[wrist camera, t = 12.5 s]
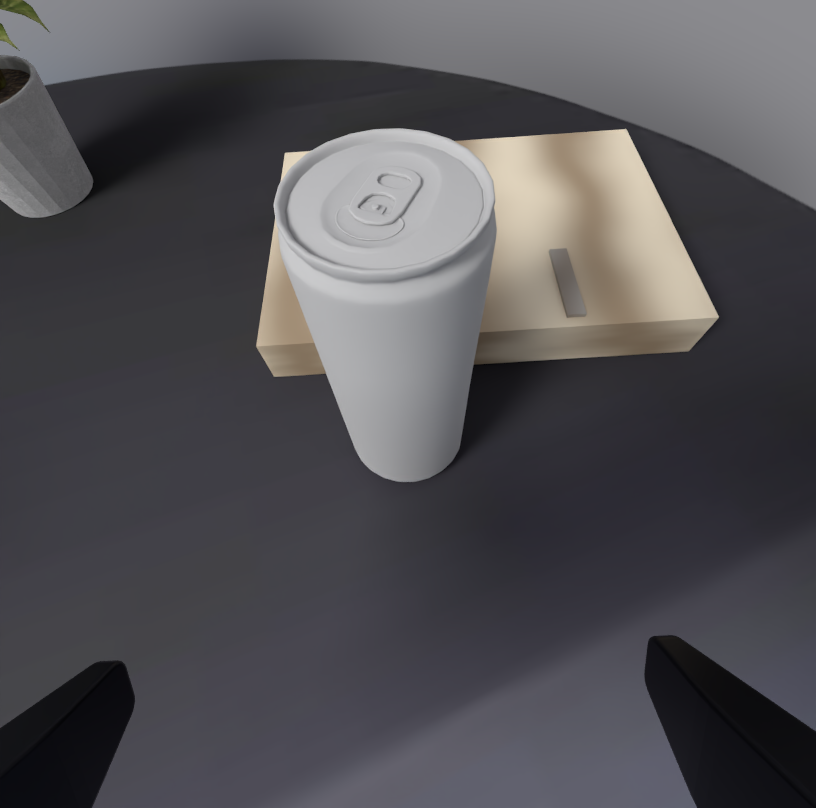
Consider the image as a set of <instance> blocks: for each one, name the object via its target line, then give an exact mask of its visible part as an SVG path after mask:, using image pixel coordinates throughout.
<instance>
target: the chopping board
mask: <svg viewBox="0 0 816 808" xmlns="http://www.w3.org/2000/svg"><path fill="white" fill-rule="evenodd" d="M454 142H456V143H458V144H460V145H462V146H464V147H466V148H467V149H469V150H470V151H471V152H472V153H473V154H474V155H475V156H476V157H478V158H479V159H480V160H481V161H482V162H483V163H484V165H485V167H486V168H487V170H488V172H489V174H490V176H491V178H492V179H493V183H494V192H495V205H494V210H495V217H496V227H497V235H496V242H495V248H494V254H493V260H492V266H491V272H490V277H489V283H488V289H487V294H486V300H485V306H484V311H483V316H482V322H481V327H480V332H479V337H478V343H477V348H476V354H475V359H474V364H473V365H475V364H491V363H507V362H524V361H540V360H556V359H572V358H589V357H605V356H621V355H637V354H654V353H670V352H686V351H689V350H690V349H691V348H692V347H693V346H694V345H695V344H696V343H697V341H698V340H699V339H700V338H701V337H702V336H703V335H704V334H705V333H706V331H707V330H708V329H709V328H710V327H711V326H712V325H713V324H714V323H715V321H716V320H717V319H718V318H719V316H718V314H717V312H716V310H715V308H714V306H713V304H712V302H711V300H710V298H709V296H708V294H707V292H706V290H705V288H704V286H703V284H702V282H701V280H700V278H699V276H698V274H697V272H696V270H695V268H694V265H693V263H692V261H691V259H690V257H689V255H688V253H687V251H686V249H685V247H684V245H683V243H682V241H681V239H680V237H679V235H678V233H677V231H676V229H675V227H674V225H673V223H672V221H671V219H670V217H669V215H668V213H667V211H666V209H665V207H664V205H663V203H662V201H661V199H660V197H659V195H658V192H657V190H656V188H655V186H654V184H653V182H652V180H651V178H650V176H649V174H648V172H647V170H646V168H645V166H644V164H643V162H642V160H641V158H640V156H639V154H638V152H637V150H636V148H635V146H634V144H633V142H632V140H631V138H630V136H629V134H628V132H627V130H626V129H623V130H608V131H594V132H580V133H565V134H551V135H537V136H522V137H508V138H494V139H479V140H465V141H454ZM309 152H310V151H307V152H293V153H285V157H284V163H283V170H282V177H281V181H282V179H283V178H284V176H285V175H286V173H287V172H288V170H289V169H290V168H291V167H292V166H293V165H294V164H295V163H296V162H298V161H299V160H300V159H301V158H302V157H303V156H304V155H306V154H307V153H309ZM278 230H279V229H278V228H277V224H276V218H275V224H274V231H273V238H272V244H271V251H270V258H269V265H268V271H267V278H266V285H265V292H264V298H263V305H262V312H261V319H260V325H259V332H258V339H257V346H256V347H257V348H258V350H259V352H260V353H261V355H262V357H263V359H264V360H265V362H266V364H267V365H268V367H269V369H270V370H271V372H272V374H273V376H274V377H280V376H296V375H312V374H326V372H325V369H324V367H323V364H322V361H321V359H320V356H319V353H318V351H317V348H316V346H315V343H314V340H313V338H312V335H311V333H310V330H309V327H308V325H307V322H306V320H305V317H304V314H303V312H302V309H301V307H300V304H299V301H298V299H297V296H296V294H295V291H294V288H293V286H292V283H291V281H290V278H289V275H288V273H287V270H286V268H285V265H284V262H283V260H282V256H281V252H280V245H279V238H278Z"/></svg>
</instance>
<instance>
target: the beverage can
mask: <svg viewBox="0 0 816 808" xmlns="http://www.w3.org/2000/svg"><path fill="white" fill-rule="evenodd" d="M494 205H495V192H494V183H493V179H492V178H491V176H490V174H489V172H488V170H487V168H486V167H485V165H484V163H483V162H482V161H481V160H480V159H479V158H478V157H476V156H475V155H474V154H473V153H472V152H471V151H470V150H469V149H467V148H466V147H464V146H462V145H460V144H458V143H456V142H454V141H453V140H451V139H449V138H446V137H442V136H439V135H436V134H433V133H429V132H426V131H418V130H410V129H402V128H399V129H374V130H369V131H363V132H358V133H352V134H349V135H346V136H343V137H340V138H337V139H334V140H332V141H329V142H326V143H324V144H323V145H321V146H319V147H317V148H316V149H314V150H312V151H310V152H309V153H307V154H306V155H304V156H303V157H302V158H301V159H300V160H299V161H298V162H296V163H295V164H294V165H293V166H292V167H291V168H290V169H289V170H288V172H287V173H286V175H285V176H284V178H283V179H282V181H281V183H280V184H279V186H278V189H277V193H276V197H275V201H274V211H275V218H276V224H277V228H278V229H279V230H278V238H279V245H280V252H281V256H282V260H283V262H284V265H285V268H286V270H287V273H288V275H289V278H290V281H291V283H292V286H293V288H294V291H295V294H296V296H297V299H298V301H299V304H300V307H301V309H302V312H303V314H304V317H305V320H306V322H307V325H308V327H309V330H310V333H311V335H312V338H313V340H314V343H315V346H316V348H317V351H318V353H319V356H320V359H321V361H322V364H323V367H324V369H325V372H326V374H327V377H328V380H329V382H330V385H331V387H332V390H333V393H334V395H335V398H336V400H337V403H338V406H339V408H340V411H341V413H342V416H343V419H344V421H345V424H346V426H347V429H348V432H349V434H350V437H351V439H352V442H353V445H354V447H355V449H356V451H357V453H358V455H359V457H360V459H361V461H362V462H363V463H364V464H365V465H366V466H367V467H368V468H369V469H370V470H371V471H373V472H375V473H376V474H378V475H380V476H382V477H383V478H386V479H390V480H394V481H397V482H416V481H420V480H424V479H428V478H430V477H432V476H434V475H436V474H437V473H439V472H441V471H443V470H444V469H445V468H446V467H447V466H448V465H449V464H450V463H451V462H452V461H453V459H454V457H455V456H456V454H457V452H458V450H459V448H460V443H461V437H462V431H463V425H464V418H465V412H466V406H467V400H468V393H469V387H470V381H471V376H472V370H473V364H474V359H475V354H476V348H477V343H478V337H479V332H480V327H481V322H482V316H483V311H484V306H485V300H486V294H487V289H488V283H489V277H490V272H491V266H492V260H493V254H494V248H495V242H496V235H497V227H496V217H495V210H494Z"/></svg>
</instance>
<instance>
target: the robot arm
mask: <svg viewBox="0 0 816 808" xmlns="http://www.w3.org/2000/svg"><path fill="white" fill-rule="evenodd" d="M645 683H646V687H647V690H648V692H649V695H650V697H651V700H652V702H653V705H654V707H655V709H656V712H657V714H658V717H659V719H660V722H661V724H662V726H663V729H664V731H665V734H666V736H667V739H668V741H669V743H670V746H671V748H672V751H673V753H674V755H675V758H676V760H677V763H678V765H679V768H680V770H681V772H682V775H683V777H684V780H685V782H686V784H687V787H688V789H689V791H690V793H691V796H692V798H693V800H694V802H695V804H696V806H697V808H816V731H814V730H813V729H811V728H810V727H809V726H807V725H806V724H804V723H803V722H801V721H800V720H798V719H797V718H795V717H794V716H793V715H791V714H790V713H788V712H787V711H785V710H784V709H782V708H781V707H780V706H778V705H777V704H775V703H774V702H772V701H771V700H769V699H768V698H766V697H765V696H764V695H762V694H761V693H759V692H758V691H756V690H755V689H753V688H752V687H750V686H749V685H748V684H746V683H745V682H743V681H742V680H740V679H739V678H737V677H736V676H734V675H733V674H732V673H730V672H729V671H727V670H726V669H724V668H723V667H721V666H720V665H719V664H717V663H716V662H714V661H713V660H711V659H710V658H708V657H707V656H705V655H704V654H703V653H701V652H700V651H698V650H697V649H695V648H694V647H692V646H691V645H689V644H688V643H687V642H685V641H684V640H682V639H681V638H679V637H677V636H673V635H668V636H653V637H651V638H650V639H649V641H648V647H647V655H646V664H645ZM134 703H135V696H134V692H133V688H132V685H131V682H130V678H129V675H128V672H127V668H126V666H125V664H124V663H123V662H122V661H100V662H96V663H94V664H93V665H91V666H89V667H88V668H87V669H85V670H84V671H82V672H81V673H79V674H78V675H76V676H75V677H74V678H72V679H71V680H69V681H68V682H66V683H65V684H63V685H62V686H61V687H59V688H58V689H56V690H55V691H53V692H52V693H50V694H49V695H48V696H46V697H45V698H43V699H42V700H40V701H39V702H37V703H36V704H35V705H33V706H32V707H30V708H29V709H27V710H26V711H24V712H23V713H22V714H20V715H19V716H17V717H16V718H14V719H13V720H11V721H10V722H9V723H7V724H6V725H4V726H3V727H1V728H0V808H92V806H93V804H94V802H95V800H96V797H97V795H98V793H99V790H100V788H101V785H102V783H103V781H104V778H105V776H106V774H107V771H108V769H109V767H110V764H111V762H112V760H113V757H114V755H115V753H116V750H117V748H118V745H119V743H120V741H121V738H122V736H123V734H124V731H125V729H126V727H127V724H128V722H129V720H130V717H131V715H132V712H133V709H134Z"/></svg>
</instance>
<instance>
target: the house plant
mask: <svg viewBox="0 0 816 808" xmlns="http://www.w3.org/2000/svg"><path fill="white" fill-rule="evenodd" d="M0 9H2V10H6V11H10V12H14V13H18V14H22V15H25V16H27V17H29V18H30V19H32V20H34V21H36V22H38V23H40V24H41V25H42V26H43V27H44V28H45V29H47V28H46V27H45V26H44V24H43V23H42V22H41V20H40V19H39V17H38V16H37V14H36V12H35V11H34V9H33V8H32V7H31V6H30V5H29V4H27V3H26V2H25V1H23V0H0ZM47 30H48V29H47ZM0 40H1V41H5V42H7V43H9V44H10V45H12V46H13V47H15V48H16V49H17V47H16V46H15V45H14V44H13V43H12V42H11V41H10V40H9V37H8V35H7V33H6V31H5V29H4V27H3V25H2V24H1V23H0ZM92 186H93V179H92V176H91V174H90V172H89V170H88V168H87V166H86V164H85V162H84V160H83V158H82V157H81V155H80V153H79V151H78V149H77V147H76V145H75V143H74V141H73V139H72V138H71V136H70V134H69V132H68V130H67V128H66V126H65V124H64V122H63V120H62V119H61V117H60V115H59V113H58V111H57V109H56V107H55V105H54V103H53V101H52V100H51V98H50V96H49V94H48V92H47V90H46V88H45V86H44V84H43V82H42V81H41V79H40V77H39V75H38V73H37V71H36V69H35V68H34V66H33V65H32V64H31V63H29V62H28V61H27V60H25V59H22V58H20V57H17V56H8V55H0V200H2V201H3V202H4V203H5V204H7V205H8V206H9V207H10V208H12V209H13V210H14V211H15V212H17V213H18V214H20V215H22V216H26V217H31V218H41V217H47V216H52V215H56V214H58V213H61V212H64V211H66V210H68V209H70V208H72V207H74V206H75V205H77V204H78V203H79V202H81V201H82V200H83V199H84V198H85V197H86V196H87V195H88V194H89V192H90V190H91V189H92Z"/></svg>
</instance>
